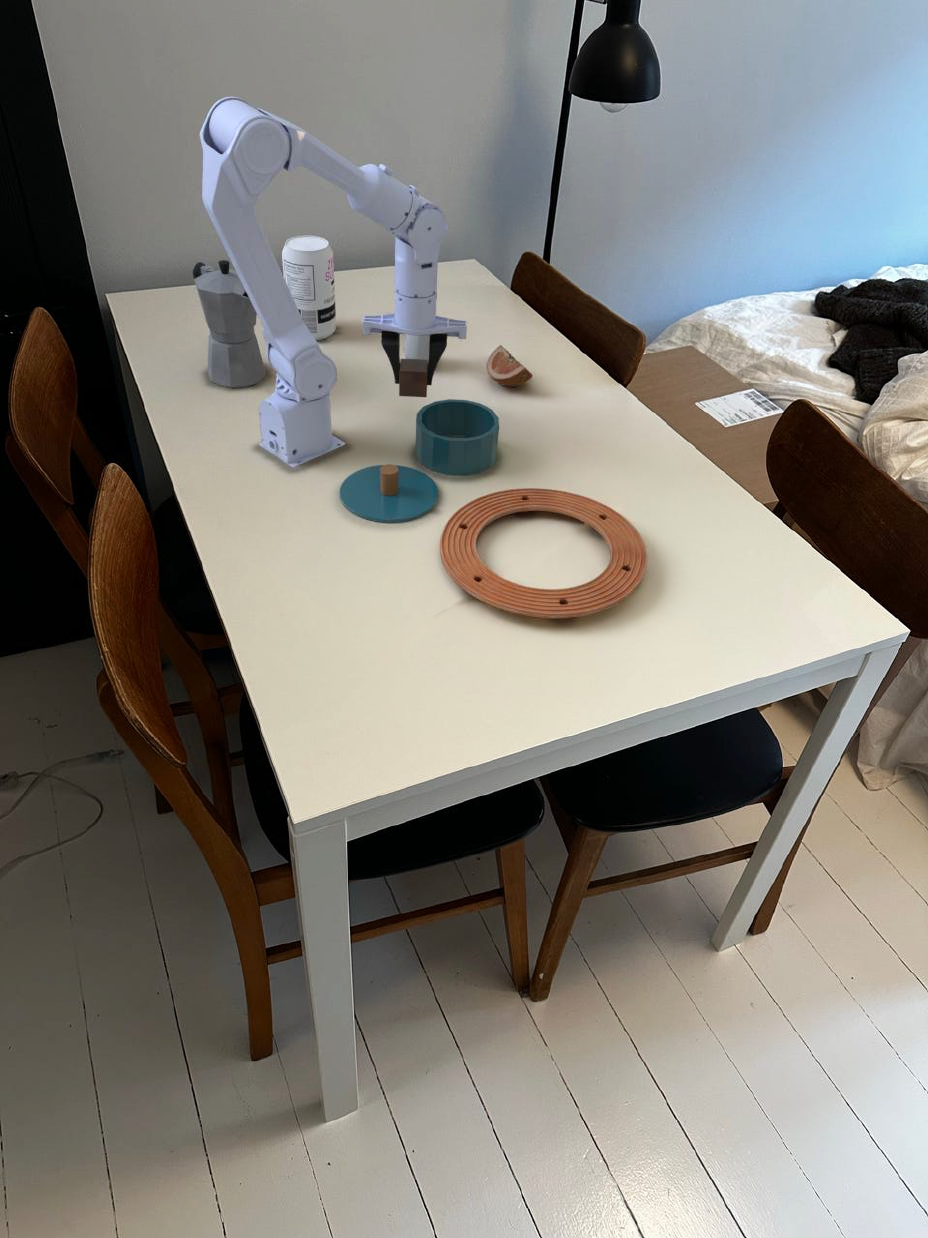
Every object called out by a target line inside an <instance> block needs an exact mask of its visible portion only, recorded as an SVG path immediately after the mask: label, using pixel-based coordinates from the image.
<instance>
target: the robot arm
mask: <svg viewBox="0 0 928 1238" xmlns="http://www.w3.org/2000/svg"><path fill="white" fill-rule="evenodd" d="M199 139H200V143H201V149H202V186H201V187H202V188H201V199H202V203H203V206H204V208H205V211H206V212H207V215H208V217H209V219H210V221H211V223H212V225H213V227H214V229H215V231H216V233H217V235H218V237H219V239H220V241H221V243H222V245H223V248H224V249H225V252H226V254H227V255H228V256H227V257H228V258H229V259H230V261H231V264H232V266H233V269H234V270H236V272H237V274H238V276H239V278H240V280H241V282H242V284H243V286H244V288H245V290H246V292H247V294H248V296H249V298H250V301H251V303H252V305H253V307H254V309H255V311H256V313H257V318H258V319H259V321H260V323H261V325H262V327H263V331H262V333H261V334H262V336H263V338H264V341H265V345H266V353H265V354H266V360H267V362H268V364H269V366H270V367H271V368H272V369H273V370H274V371H275V372H276V380H275V390H274V392H272V393H271V395H270V396H268V397H266V398H265V399H264V400H262V401H261V402H260V404H259V406H258V415H259V426H260V436H261V442H260V443H259V446H260V447H262V448H263V449H264V450H266V451H267V452H269V453H270V454H272V455H273V456H274V457H276V458H278V459H280V460H281V461H282V462H284V463H285V464H287V465H288V466H290V467H293V468H294V467H298V466H299V465H300V466H301V465H302V464H305V463H306V462H309V461H311V460H313V459H316V458H318V457H320V456H323V455H325V454H328V453H329V452H332V451H335V450H336V449H338V448H340V447H343V446H345V445H346V442H344V441H343V440H341V439H339V438H338V437H336V436H334V435H333V432H332V431H333V430H332V429H333V428H332V411H331V410H332V409H331V391H332V389H333V388H334V386H335V384H336V382H337V379H338V370H337V365H336V363H335V362H334V360H333V359H332V358H331V357H329V356H328V355H327V354H325V352H324V351H323V350H322V349H321V347H320V345H319V342H318V340H315V338H314V337H313V335H312V334H311V332H310V331H309V329H308V328H307V326H306V325H305V323H304V322H303V319H302V317H301V315H300V313H299V310H298V308H297V306H296V304H295V301H294V299H293V297H292V295H291V292H290V290H289V288H288V286H287V284H286V281H285V279H284V274H283V273H282V270H281V268H280V266H279V264H278V261H277V259H276V256H275V255H274V252H273V250H272V247H271V246H270V243H269V241H268V239H267V237H266V235H265V232H264V229H263V228H262V225H261V223H260V221H259V219H258V217H257V214H256V211H255V206H256V203H257V201H258V200H259V197H260V196H261V195H262V194H263V192H264V191H266V189H267V188H268V186H269V185H270V184H271V183H272V182H273V181H274V180H275V178H276V177H277V176H278V175H279V173H280V172H282V170H283V169H284V170H285V171H287V172H293V171H295V170H297V169H298V168H301V167H303V168H305V169H306V170H308V171H310V172H311V173H314V175H317V176H319V177H320V178H322V179H324V180H325V181H327V182H329V183H331V184H333V185H334V186H336V187H338V188H339V189H341V190H343V191H345V193H346V196H347V201H348V204H349V206H350V207H351V209H352V210H354V211H355V212H356V213H359V214H360V215H362V216H363V217H366V218H367V219H368V220H370V221H372V222H373V223H375V224H377V225H379V226H381V228H384V229H385V230H387V231H389V232H390V233H391V234H393V235H396V236H395V237H394V313H388V314H387V313H386V314H378V315H376V314H375V315H363V316H362V335H366V336H367V335H371V334H380V335H381V339H380V344H381V346H382V349H383V351H384V352H385V354H386V356H387V358H388V361H389V363H390V366H391V369H392V374H393V378H394V384H395V385H396V384H397V385H399V370H400V360H401V356H400V355H401V354H400V353H401V352H400V350H401V348H400V347H401V346H400V345H401V335H406V336H407V335H415V336H419V335H428V336H430V341H429V361H428V372H427V386H432V385H433V379H434V375H435V371H436V368H437V367H438V363H439V361H440V360H441V357H442V356H443V354H444V353H445V351H446V349H447V347H448V337H451V338H458V339H459V340H467V333H468V332H467V331H468V321H467V320H462V319H461V320H460V319H455V318H451V317H445V316H439V315H437V300H436V294H437V295H438V292H437V291H438V269H439V266H438V265H439V264H438V263H439V257H440V249H441V245H442V244H443V242H444V241H445V239H446V237H447V235H448V231H449V224H447V223H446V218H445V215H444V214H443V213H444V212H443V210H442V208H441V207H439V206H438V205H436V204H435V203H433V202H432V201H430V200H428V199H427V198H424V197H423V196H421V195H420V193H421V192H420V189H418V188H417V187H415V186H414V185H412V184H410V185H409V186H407V185H406V184H404V183H402V182H401V181H400V180H398V179H396V178H395V177H394V176H393V174H394V171H393V169H391V168H389V166H386V165H385V164H383V163H380V164H379V166H377V165H376V164H373V163H368V164H364V165H362V166H356V165H355V164H354V163H352V162H351V161H349V160H348V159H347V158H344V157H343V156H342V155H341V154H339V153H338V152H337V151H335V150H334V149H332V148H331V147H329V146H328V145H326V144H325V143H323V142H322V141H320V140H319V138H316V137H315V136H313V135H312V134H310V132H307V131H306V130H305V129H303V128H301V127H299V126H298V125H296V124H294V123H292V122H291V121H288V120H286V119H284V118H283V117H280V116H277V115H276V114H273V113H272V112H269V111H267V110H264V109H262V108H261V107H260V108H259V107H257V108H255V107H253V106H252V105H251V104H250V103H249V102H247V101H246V100H244V99H243V98H240V97H236V96H226V97H222V98H221V99H219V100H217V101H216V102H215V103H214V104H213V105H212V106H211V108H210V109H209V111H208V112H207V115H206V117H205V120H204V122H203V124H202V127H201V129H200V132H199Z"/></svg>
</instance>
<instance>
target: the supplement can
mask: <svg viewBox="0 0 928 1238" xmlns="http://www.w3.org/2000/svg"><path fill="white" fill-rule="evenodd" d="M281 259H282V271H283V273H282V274H283V277H284V279H285V281H286V284H287V286H288V288H289V290H290V292H291V295H292V297H293V299H294V301H295V304H296V306H297V308H298V310H299V313H300V315H301V317H302V319H303V322H304V323H305V325H306V326H307V328H308V329H309V331H310V332H311V334H312V335H313V337H314V338H315V340H316V341H319V340H325V339H327V338H329V337H330V336H332V334H333V333H335V332H336V329H337V313H336V312H337V311H336V289H335V286H336V285H335V264H334V251H333V250H332V247H331V246H330V242H329V241H328V240H327V239H325V238H324V237H321V236H316V235H296V236H293V237H290V238H288V239H286V241H285V242H284V246H283V249H282V251H281Z"/></svg>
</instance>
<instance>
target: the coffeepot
mask: <svg viewBox="0 0 928 1238" xmlns="http://www.w3.org/2000/svg"><path fill="white" fill-rule="evenodd" d="M217 263H218V266H219V270H215V268H214V267H213V266H212V265H209V264H207V265H206V264H205V263H204V262H201V261H198V262H196V264H195V265H194V266H193V269H192V277H193V282H194V284H195V288H196V290H197V294H198V298H199V301H200V304H201V308H202V311H203V315H204V319H205V322H206V325H207V328H208V329H209V335H208V347H207V348H208V349H207V350H208V351H207V373H208V377H209V380H210V382H212V383H213V384H215V385H218V386H219V387H224V388H231V389H232V388H234V389H240V388H246V387H250V386H254V385H256V384H258V383H259V382H261V381H263V379H264V378H265V377H266V376H267V372H266V367H265V363H264V361H263V360H264V359H263V357H262V353H261V349H260V346H259V343H258V338H257V335H256V334H255V326H256V325H257V317H258V315H257V313H256V311H255V309H254V307H253V305H252V303H251V301H250V298H249V296H248V294H247V292H246V290H245V288H244V286H243V284H242V282H241V280H240V278H239V276H238V274H237V272H236V270H235V268H230V261H229V260H226V259H223V260H222V259H221V260H219V261H217Z"/></svg>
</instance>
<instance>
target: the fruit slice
mask: <svg viewBox="0 0 928 1238" xmlns="http://www.w3.org/2000/svg"><path fill="white" fill-rule="evenodd" d="M486 372H487V374H488V375H489V377H490V378H491V379H492V380H493V381H494V382H496V383H497V384H499V385H502V386H506V387H516V386H517V387H518V386H520V385H523V384H526V383H527V382H529V381H530V380H531V379H532V378H533V373H532V372H530V371H529V370H528V369H527V367H525V365H524V364H522V363H521V362H519V360H517V359H516V358H515V357H514V356H513V354H512V353H510V351H508V349H506V348H505V347H504V346H503V345H502V344H499V345H498V346H497V347H496V348H495V349H494V350H493V351H492V352H491V354H490V356H489V358H487V362H486Z"/></svg>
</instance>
